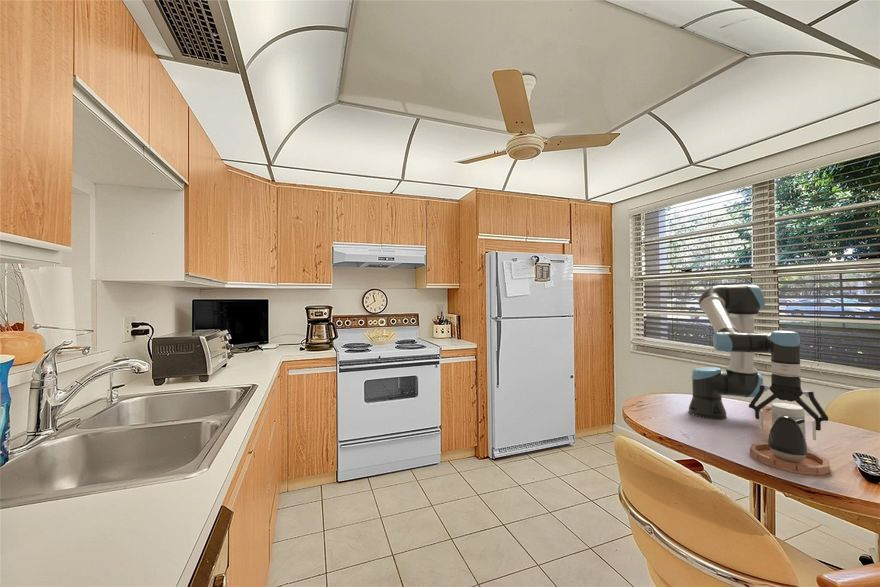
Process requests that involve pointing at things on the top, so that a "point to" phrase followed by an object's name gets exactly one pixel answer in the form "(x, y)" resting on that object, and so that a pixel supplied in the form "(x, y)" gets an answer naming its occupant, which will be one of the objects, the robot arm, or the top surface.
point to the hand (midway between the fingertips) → (786, 433)
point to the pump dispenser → (787, 439)
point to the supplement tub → (788, 413)
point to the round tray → (808, 466)
